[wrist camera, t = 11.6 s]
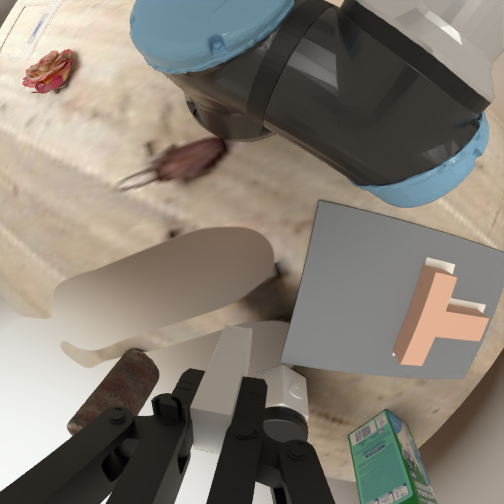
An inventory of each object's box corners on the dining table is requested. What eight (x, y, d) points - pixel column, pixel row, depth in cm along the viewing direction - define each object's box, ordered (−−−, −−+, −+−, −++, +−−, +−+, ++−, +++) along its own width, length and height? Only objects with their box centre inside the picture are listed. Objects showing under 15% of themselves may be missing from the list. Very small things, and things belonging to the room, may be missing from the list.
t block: (423, 264, 36) (435, 272, 32) (486, 280, 35) (500, 288, 32) (392, 350, 40) (400, 364, 36) (456, 356, 39) (466, 367, 35)
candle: (164, 356, 44) (108, 440, 25) (162, 387, 46) (115, 469, 27) (123, 342, 45) (57, 413, 25) (124, 374, 46) (68, 445, 27)
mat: (318, 200, 37) (319, 200, 36) (510, 254, 34) (512, 255, 34) (280, 360, 42) (279, 362, 42) (462, 376, 40) (463, 378, 40)
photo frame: (27, 59, 34) (-5, 55, 34) (30, 60, 35) (-2, 56, 35) (62, -1, 31) (24, 4, 31) (65, 1, 32) (26, 5, 32)
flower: (68, 103, 35) (54, 66, 28) (27, 113, 34) (11, 80, 27) (88, 70, 38) (79, 36, 31) (49, 80, 38) (37, 49, 30)
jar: (317, 382, 43) (323, 436, 31) (284, 411, 45) (282, 463, 33) (273, 355, 42) (268, 408, 31) (241, 386, 44) (229, 439, 32)
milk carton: (408, 425, 44) (444, 523, 19) (372, 450, 46) (393, 548, 21) (385, 408, 43) (423, 520, 19) (347, 435, 45) (364, 545, 21)
